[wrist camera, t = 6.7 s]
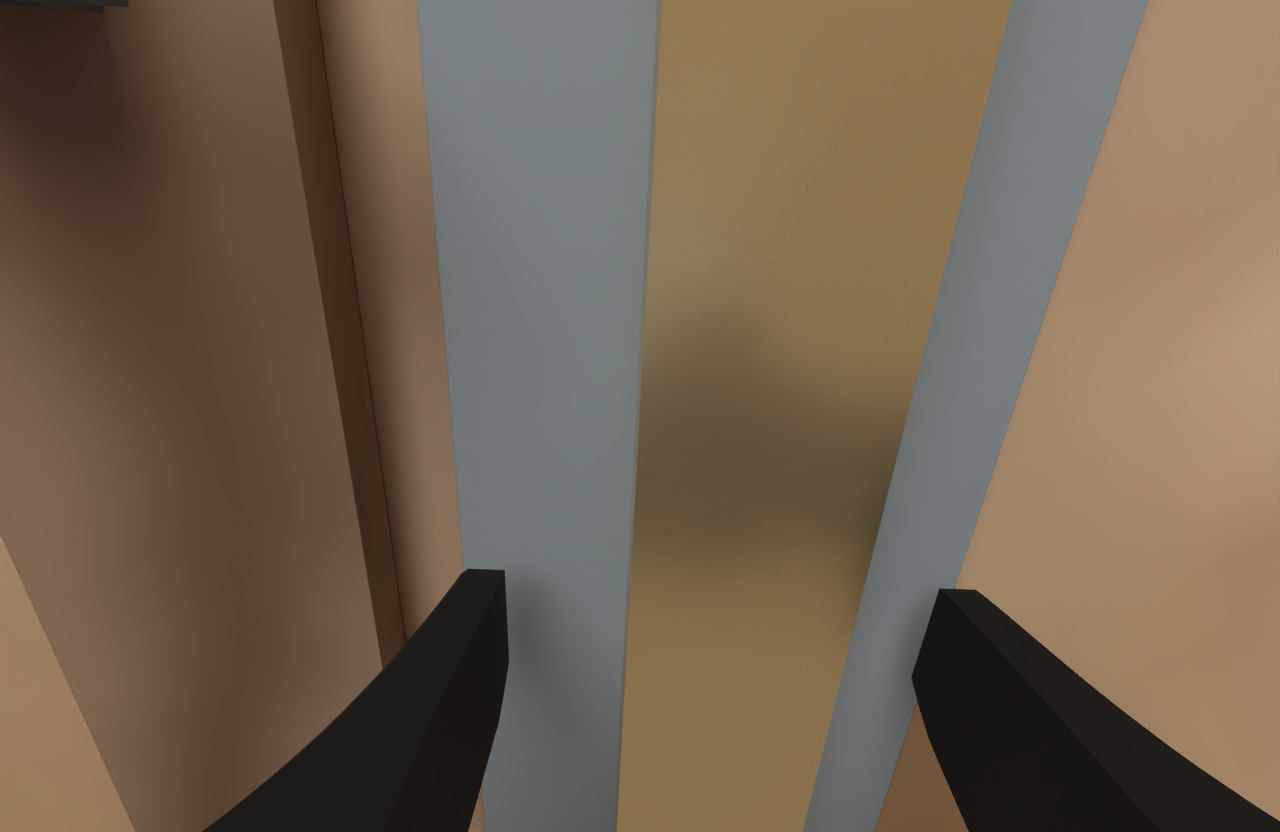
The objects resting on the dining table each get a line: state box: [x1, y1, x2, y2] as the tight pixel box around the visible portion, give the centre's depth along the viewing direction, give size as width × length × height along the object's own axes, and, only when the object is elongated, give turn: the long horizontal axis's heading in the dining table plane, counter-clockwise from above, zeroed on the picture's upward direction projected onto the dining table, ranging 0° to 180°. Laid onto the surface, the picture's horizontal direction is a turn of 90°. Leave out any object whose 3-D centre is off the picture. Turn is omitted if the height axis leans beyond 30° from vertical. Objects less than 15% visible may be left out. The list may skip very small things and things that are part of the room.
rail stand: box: [0, 0, 405, 832], centre depth 10 cm, size 6×24×6 cm, turn 177°
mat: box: [417, 0, 1148, 832], centre depth 13 cm, size 9×30×1 cm, turn 177°
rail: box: [614, 0, 1012, 832], centre depth 11 cm, size 3×26×3 cm, turn 177°
